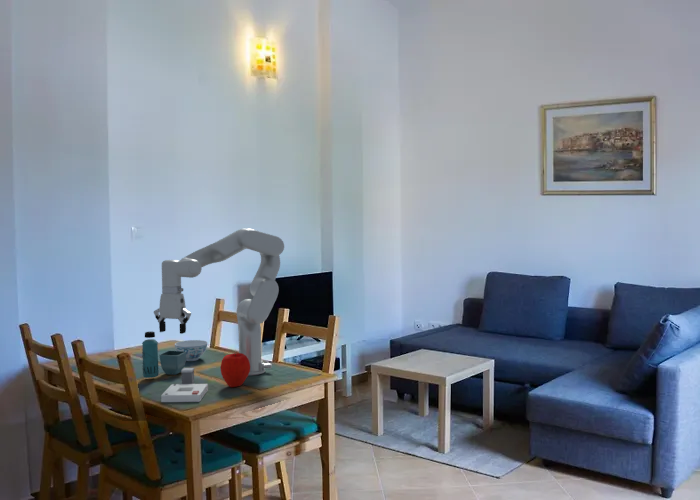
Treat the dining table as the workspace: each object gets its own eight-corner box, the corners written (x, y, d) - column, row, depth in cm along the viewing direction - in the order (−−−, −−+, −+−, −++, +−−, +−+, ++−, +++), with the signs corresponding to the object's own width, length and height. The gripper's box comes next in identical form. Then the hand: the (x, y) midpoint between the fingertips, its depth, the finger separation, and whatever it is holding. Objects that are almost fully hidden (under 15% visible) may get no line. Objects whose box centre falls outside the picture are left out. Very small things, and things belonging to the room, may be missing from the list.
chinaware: (175, 356, 330) (175, 340, 329) (208, 355, 332) (207, 339, 332) (174, 363, 315) (173, 347, 314) (207, 362, 318) (207, 345, 317)
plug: (194, 385, 277) (194, 367, 277) (192, 387, 273) (191, 370, 272) (184, 385, 277) (183, 367, 277) (181, 387, 273) (181, 370, 272)
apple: (245, 390, 267) (244, 356, 267) (216, 389, 269) (215, 355, 269) (254, 383, 279) (253, 350, 278) (226, 382, 281) (225, 349, 280)
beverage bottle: (152, 376, 291) (151, 329, 290) (162, 379, 287) (161, 331, 286) (139, 379, 286) (138, 332, 285) (148, 382, 282) (147, 333, 281)
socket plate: (207, 390, 269) (207, 382, 269) (199, 401, 253) (199, 393, 253) (171, 390, 269) (171, 382, 269) (161, 402, 253) (161, 394, 253)
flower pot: (178, 376, 291) (178, 355, 291) (159, 375, 293) (158, 354, 293) (187, 371, 300) (187, 351, 300) (168, 370, 302) (168, 350, 301)
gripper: (195, 290, 279) (196, 332, 281) (159, 288, 286) (160, 329, 287) (184, 292, 272) (185, 335, 274) (148, 290, 279) (149, 332, 280)
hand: (172, 332), depth 280 cm, fingers open, 9 cm apart
